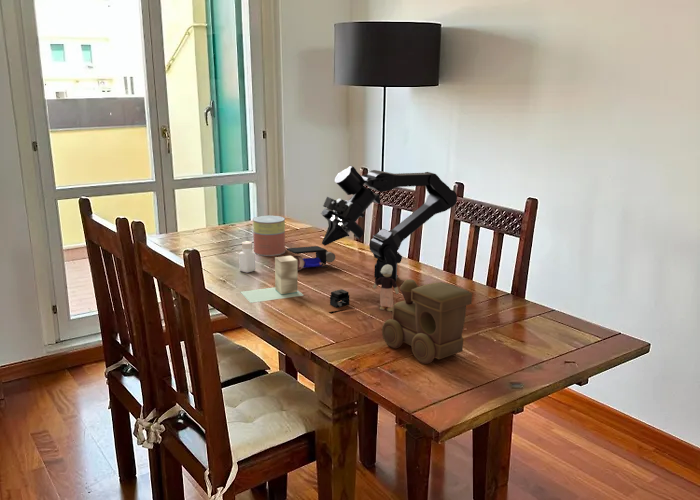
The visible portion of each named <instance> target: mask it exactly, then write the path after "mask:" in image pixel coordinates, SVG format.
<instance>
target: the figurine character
mask: <svg viewBox="0 0 700 500" xmlns="http://www.w3.org/2000/svg"><path fill="white" fill-rule="evenodd" d="M286 251H288V252H289V253H291V254H294V255H293V256H292V257H294V258H295V259H297V271H302V269H303V268H317V267H319V268H328V265H327V263H329V264H330V263H333V262H334V261H335V260H336V255H335V253H334V252H331V251H328V250H327V249H326V248H324V247H321V246H318V245H314V246H311V245H310V246H300V247H299V246H298V247H287V248H286ZM309 253H310V254H312V253H315V257H303V258H302V257H301V256H300V254H309ZM297 254H299V255H297Z"/></svg>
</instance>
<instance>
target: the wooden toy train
mask: <svg viewBox="0 0 700 500" xmlns="http://www.w3.org/2000/svg"><path fill="white" fill-rule="evenodd" d="M399 290H400V292H401V294H402V297H403V300H402V301H401V300H400V301H398V302H396V303H393V311H392V314H391V315H392V318H389V319H386V320H385V322H383V324H382V328H381V334H382V335H381V336H382V339H383V341H384V342H385V344H386V345H387V346H389V348H392V349H398V348H400V347H401V346H402V345H403V343H405V344H406V345H409V346H411V352H412V355H413V356H414V358H415V359H416V360H417V361H418V362H420V363H422V364H425V365H427V364H430V363H431V362H433V361H434V359H437V360H441V359H444V358H445V359H446V358H447V357H451V356H453V355H457V354H458V353H461V352H463V350H464V349H463V348H464V338H463V336H462V335H463V331H464V327H465V320H466V319H465V318H466V313H467V306H470V305H473V304H472V303H473V300H472V299H473V292H471V291H469V290H467V289H465V288H463V287H459V286H457V285H454V284H452V283H451V284H450V283H447V282H442V281H439V282H432V283H427V284H424V285H420V286H419V285H418V284H417V282H416V280H415V279H404V281H403V282H402V283H401V285H400V286H399Z"/></svg>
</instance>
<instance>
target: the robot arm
mask: <svg viewBox="0 0 700 500" xmlns="http://www.w3.org/2000/svg"><path fill="white" fill-rule="evenodd" d="M334 183H336V184H337V185H338V186H339V188H340V189H341V190H342V191H344V192H345V194H346V195H347V196H350V195H352V196H351V197H350V198H349V199H348V200H347V199H345V200H344V199H342V198H340V197H339V198H337V199H335V198H332V197H329V196H326V199H325V200H324V203H323V205H322V206H323V207H324V209H322V211H321V212H320V214H321V215H322V217H324V219H325V220H326V221H327V223H328V225H327V226H328V227H327V230H326V232H325V233H324V234H325V235H324V237H323V239H322V241H321V245H323V246H327V245H330V244H333V243H334V242H337V241H339V240H341V239H344V238H346V237H350V234H349V233H350V232H351V233H352V234H354V235H353V237H354V238H356V239H358V240H360V239H361V238H362V237H363V236H364V229H363V227H361V226H360V225H359V224H358V223H357V221H358V220H359V218H364V217H365V214H364V212H365V211H366V210H367V209H368V208H369V207H370V206H371V204H372V203H376V204H378V205H380V204H381V195H380V194H379V193H375V192H374V191H377V192H381V193H385V192H389V191H392V190H394V189H396V188H402V187H403V188H405V187H408V188H409V187H425V189H426V192H428V195H427V197H426V200H425V202H424V203H423V204H422V205H420V207H418V208H417V209H416V210H414V211H413V212H411V214H410V215H409V216H407V217H406V218H405V219H404V220H402V221H401V222H400V223H398V224H397V225H396V226H395V227H394V228H392V229H390V230H387V229H385V228H382V229H380V230H379V231H378V232H377V233H376V234H373V235H372V237H373V238H371V239H370V241H369V251H370V252H371V253H372V254H373V257H374V259H377V260H376V263H375V264H374V276H373V277H374V278H375V279H374V282H375V281H376V280H377V279H378V278H380V277H384V276H383V274H382V273H381V272H380V271H381V269H382V267H383V266H385V265H387V264H389V265H391V266H392V267H393V270H392V275H391V276H390V278H392V279H394V281H395V282H396V283H397V280H398V277H399V275H398V264H400V263H401V261H402V260H403V256H402V254H400V252H399V249H400V246H401V245H402V242H403V241H404V240H405V239H407V237H410V235H412V234H413V233H414V232H416V231H417V230H418V229H419V228H420V227H422V225H424V224H425V223H427V222H428V221H429V220H431V218H433V217H434V216H435V215H437V214H441V213H443V212H446V211H448V210H450V209H451V208H453V207H454V206H456V204H457V203H458V202H457V200H458V195H457V192H456V191H455V190H453V189H451V188H450V186H448V184H447V183H445V182H444V181H443V180H442V179H441V178H440V176H439V175H438V174H436V173H434V172H431V171H425V172H406V173H405V172H403V173H400V172H399V173H392V172H387V171H382V170H376V169H373V170H372V169H371V170H370V171H369V172H368V173H366V174H362V175H361V174H360V173H359V172H358V171H357V169H356V168H355V166H352V165H349V166H348V167H347V168H345V169H343V170H341V171H339V172H338V173H337V175H336V176H335V177H334ZM365 186H367V187H365ZM373 190H374V191H373Z"/></svg>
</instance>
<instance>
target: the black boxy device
mask: <svg viewBox="0 0 700 500" xmlns="http://www.w3.org/2000/svg"><path fill="white" fill-rule="evenodd" d="M329 306H333V307H334V308H336V309H339V308H341V307H342V308H343V307H345V306H350V294H349V291H347V290H344V289H337V290H333V291H330V295H329ZM343 311H348V308H346V309H341V310H334V311H333V310H332V311H328V313H329V314H331V315H332V314H336V313H338V312H339V313H340V312H343Z"/></svg>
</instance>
